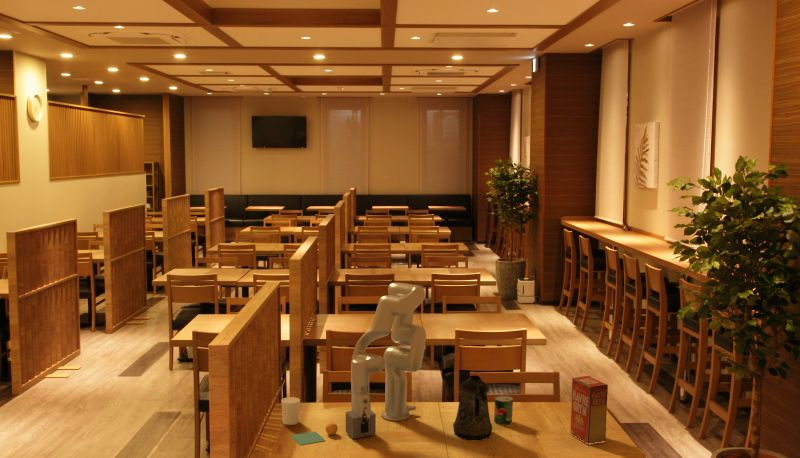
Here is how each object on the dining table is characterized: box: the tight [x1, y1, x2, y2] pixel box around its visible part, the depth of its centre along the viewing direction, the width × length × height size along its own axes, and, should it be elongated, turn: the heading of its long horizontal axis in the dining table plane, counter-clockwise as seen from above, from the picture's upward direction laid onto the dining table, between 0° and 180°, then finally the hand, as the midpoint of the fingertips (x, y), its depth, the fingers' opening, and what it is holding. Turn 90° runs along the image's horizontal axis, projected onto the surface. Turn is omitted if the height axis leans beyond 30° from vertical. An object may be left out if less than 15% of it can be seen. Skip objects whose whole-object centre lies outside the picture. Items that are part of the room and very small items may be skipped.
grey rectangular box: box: [345, 410, 377, 439], centre depth 328 cm, size 10×8×9 cm
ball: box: [325, 422, 339, 435], centre depth 329 cm, size 5×5×5 cm
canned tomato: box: [493, 395, 514, 426], centre depth 346 cm, size 8×8×11 cm
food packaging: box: [569, 375, 609, 443], centre depth 329 cm, size 13×9×25 cm
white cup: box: [280, 396, 301, 426], centre depth 341 cm, size 8×8×10 cm
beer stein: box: [452, 374, 493, 441], centre depth 330 cm, size 16×19×25 cm
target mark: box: [290, 430, 326, 446], centre depth 324 cm, size 11×11×1 cm
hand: (360, 428), depth 329 cm, fingers closed on grey rectangular box, 7 cm apart
